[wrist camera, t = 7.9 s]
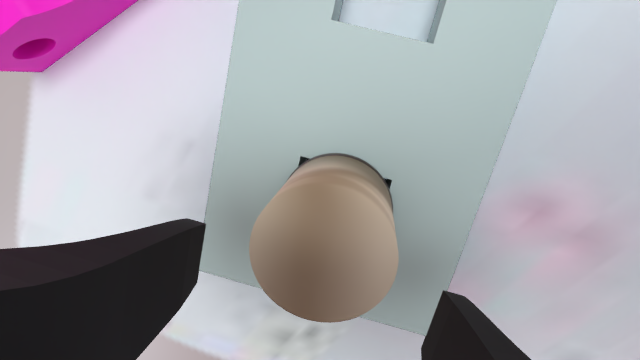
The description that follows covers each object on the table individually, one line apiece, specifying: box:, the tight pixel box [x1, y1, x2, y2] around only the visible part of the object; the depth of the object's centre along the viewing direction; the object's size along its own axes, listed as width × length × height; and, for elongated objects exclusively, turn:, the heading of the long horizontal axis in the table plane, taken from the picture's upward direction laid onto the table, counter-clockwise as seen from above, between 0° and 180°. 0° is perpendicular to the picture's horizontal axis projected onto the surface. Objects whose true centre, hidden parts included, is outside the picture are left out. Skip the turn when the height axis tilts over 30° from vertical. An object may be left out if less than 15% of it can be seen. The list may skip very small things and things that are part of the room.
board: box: [199, 0, 557, 336], centre depth 17 cm, size 12×20×2 cm, turn 166°
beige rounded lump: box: [249, 153, 399, 322], centre depth 16 cm, size 5×5×7 cm
